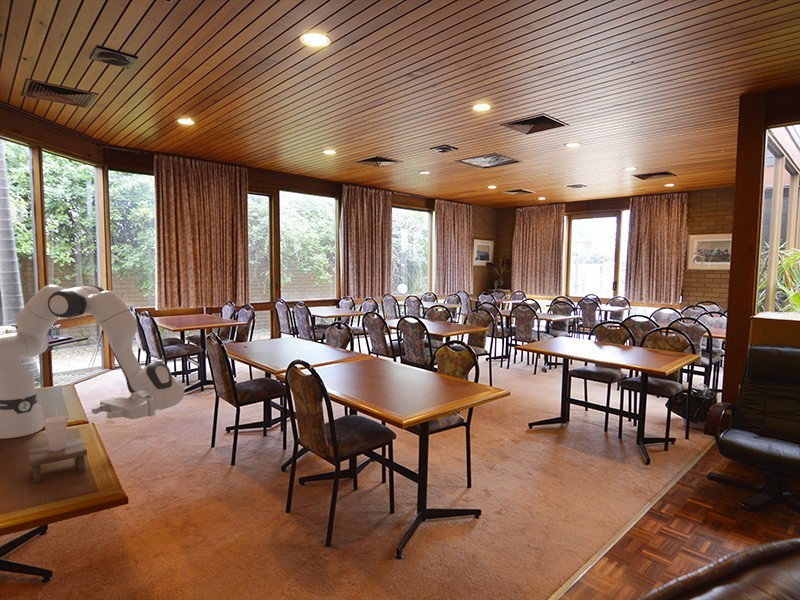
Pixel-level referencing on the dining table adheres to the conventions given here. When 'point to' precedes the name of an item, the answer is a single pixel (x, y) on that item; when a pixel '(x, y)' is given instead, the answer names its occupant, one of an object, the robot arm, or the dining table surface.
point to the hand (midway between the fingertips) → (100, 413)
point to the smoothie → (56, 431)
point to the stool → (57, 456)
